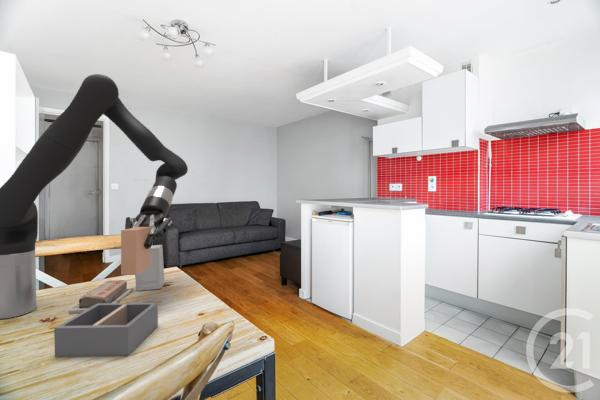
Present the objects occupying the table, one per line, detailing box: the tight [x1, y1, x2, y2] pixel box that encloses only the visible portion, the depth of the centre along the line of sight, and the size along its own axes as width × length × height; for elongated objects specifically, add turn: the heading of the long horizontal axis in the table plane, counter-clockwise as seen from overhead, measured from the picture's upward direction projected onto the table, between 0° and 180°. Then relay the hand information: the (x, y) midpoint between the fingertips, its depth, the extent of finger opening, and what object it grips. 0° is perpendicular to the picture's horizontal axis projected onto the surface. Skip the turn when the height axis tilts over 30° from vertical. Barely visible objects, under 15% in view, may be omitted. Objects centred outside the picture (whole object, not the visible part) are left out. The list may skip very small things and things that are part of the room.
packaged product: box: [67, 279, 134, 315], centre depth 88 cm, size 18×5×10 cm
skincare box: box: [134, 244, 166, 292], centre depth 101 cm, size 8×6×15 cm
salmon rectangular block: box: [120, 226, 151, 276], centre depth 80 cm, size 4×8×12 cm, turn 2°
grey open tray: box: [53, 302, 159, 358], centre depth 65 cm, size 15×13×6 cm
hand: (138, 247), depth 80 cm, fingers closed on salmon rectangular block, 4 cm apart
